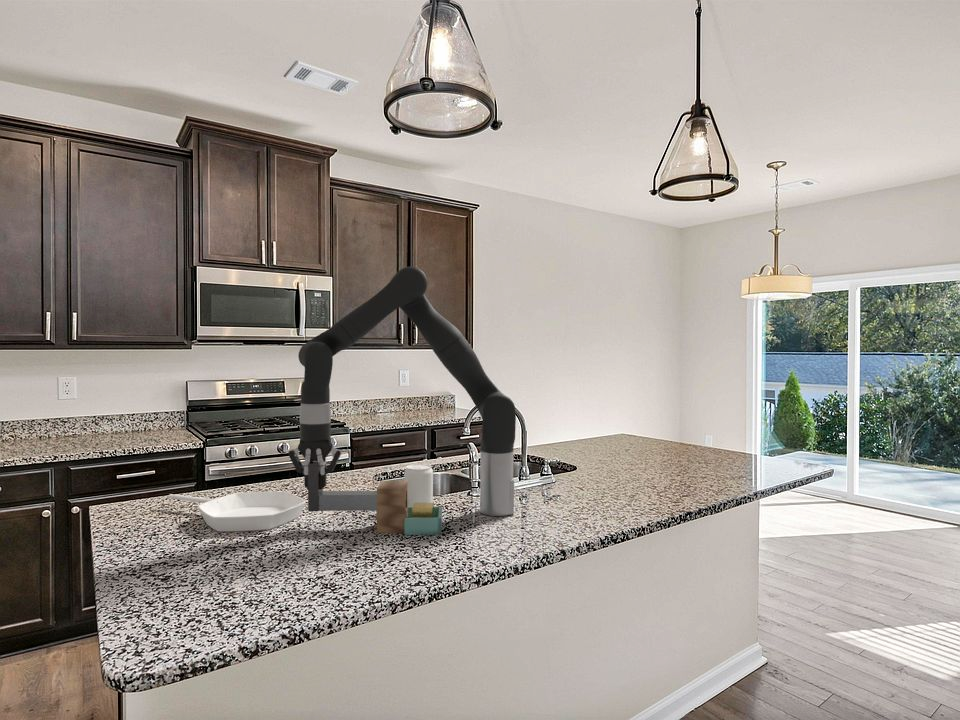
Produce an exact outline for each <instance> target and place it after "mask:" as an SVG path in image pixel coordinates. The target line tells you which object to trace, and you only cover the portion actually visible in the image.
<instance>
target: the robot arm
mask: <svg viewBox="0 0 960 720" xmlns="http://www.w3.org/2000/svg"><path fill="white" fill-rule="evenodd" d="M428 283H429V282H428V278H427V276H426V274H425V272H424V271H423V270H421V269H420V267H416V266H407V267H403V268H401V269H399V270H398V271H397V272H396V273H394V275H393V276H392V277H391V279H390V280H389V282H388V283H387V284H386V285H385V286H384V287H382V289H380V290H379V291H378V292H377V293H375V295H374V296H372V297H371V298H369V299H368V300H366V301H365V302H364V303H362V304H361V305H359V306H358V307H357V308H355V309H353V310H352V311H350V312H349V313H348V314H346V315H345V316H343V317H342V318H341V319H340V320H338V321H337V322H335V323H334V324H333V325H332V326H330V327H329V328H328V329H327V330H325V331H323V332H322V333H320V334H318V335H316V336H315V337H312V339H310V340H308V341H307V342H305V343H304V344H303V345H302V347H300V349H299V351H298V356H297V357H298V360H299V363H300V365H302V366H303V367H304V377H303V378H304V379H303V381H302V382H301V386H300V409H299V443H298V445H297V447H296V448H293V449H290V450H289V451H288V452H287V455H288V457H289V458H290V461H291V463H292V465H293V467H294V469H295V470H296V472H297V473H298V474H303V476H304V479H303V480H304V482H303V484H304V488H306V490H307V491H308V463H310V462H311V461H318V463H319V469H320V474H321V475H320V490H323V491H324V489H325V488H326V486H327V483H328V482H327V481H328V480H327V476H328V474H329V473H332V472H333V471H334V470H335V467H336V466H337V464H338V462H339V459H340V458H341V456H342V453H343V450H342V449H341V448H339V449H338V448H336V447H334V446H333V443H332V441H331V440H332V439H331V438H332V435H331V433H332V432H331V429H332V428H331V427H332V425H331V423H332V422H331V421H332V420H331V419H332V418H331V417H332V416H331V415H332V413H331V406H330V405H331V403H330V402H331V401H330V399H331V397H330V393H331V392H330V391H331V390H330V389H331V388H330V384H331V378H332V373H333V372H332V371H333V364H334V363H333V362H334V360H333V357H334V356H335V355H337V354H338V353H340V352H341V351H345V350H347V349H349V348H350V347H352V346H353V345H355V344H356V343H357V342H359V341H360V340H361V339H362V338H364V337H365V336H366V335H367V334H369V333H370V332H371V331H372V330H373V329H374V328H375V327H377V326H378V324H380V323H381V322H382V321H383V320H384V319H386V318H387V317H388V316H389V315H391V313H393V312H395V311H396V310H397V309H401V310H402V312H403V313H405V315H406V316H407V317H408V318H409V319H410V321H412V323H413V324H414V325H415V327H416V329H418V331H419V332H420V334H421V336H422V337H423V339H424V340H425V342H427V344H428V346H429V347H430V348H431V350H432V351H433V352H434V354H435V355H436V357H437V358H438V360H440V362H441V363H442V365H443V366H444V367H445V369H446V370H447V372H449V373H450V375H451V377H453V378H454V379H455V380H456V381H457V382H458V383H459V384H460V385H461V386H462V388H463V389H464V390H465V391H466V392H467V394H468V395H469V397H470V399H471V400H472V402H473V404H474V406H475V407H476V409H477V410H478V413H479V415H480V416H481V418H482V427H481V428H482V429H481V432H482V433H481V440H480V458H479V459H480V465H479V466H480V471H479V472H480V473H479V474H480V476H479V477H480V478H479V479H480V481H479V482H480V483H479V485H480V486H479V487H480V488H479V512H480V513H481V514H483V515H485V516H489V517H490V516H491V517H500V516H501V517H503V516H509V515H514V514H515V480H514V445H515V443H516V442H515V441H516V427H517V426H516V424H517V420H516V419H517V414H516V407H515V403H514V402H513V400H512V399H511V398H510V397H508V396H507V395H505V394H504V393H502V391H500V390H499V388H498V387H497V386H496V385H495V384H494V382H493V381H492V380H491V379H490V377H488V375H487V373H486V372H485V370H484V368H483V366H482V364H481V362H480V360H479V357H478V356H477V354H476V353H475V350H474V349H473V347H472V346H471V344H470V343H469V342H468V341H467V339H466V337H465V336H464V335H463V333H462V332H461V331H460V330H459V329H458V328H457V326H455V325H454V324H453V323H451V322H450V321H449V320H448V319H446V318H445V317H444V316H443V315H441V314H440V313H439V312H438V311H437V310H436V309H435V308H434V307H433V305H432V303H430V301H429V300H428V299H427V297H426V295H425V294H426V292H427V289H428ZM330 453H331V457H332V460H331V462H330V463H329V464H328V466H327V457H328V455H329V454H330ZM300 454H301V456H303V459H304V462H303V463H304V465H303V463H302V461H301V459H300V458H299V456H300Z"/></svg>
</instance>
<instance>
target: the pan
mask: <svg viewBox="0 0 960 720" xmlns="http://www.w3.org/2000/svg"><path fill="white" fill-rule="evenodd" d="M167 498H168V499H170V500H171V499H172V500H179V501H185V502H194V503H195V502H196V503H200V504H198V505H197V509H198V511H199V512H200V514H201V516H202V518H203V520H204V522H205V524H206V525H208V527H210V529H212V530H213V531H216V532H218V533H239V532H240V533H241V532H245V533H246V532H260V531H261V532H263V531H271V530H272V529H277V528H278V527H281V526H283V525H285V524H288V523H290V522H293V521H295V520H296V519H297V518H299V517H300V516H301V513H302V511H303V508H304V506H305V505H306V502H307V501H306V500H304V499H303V498H302V497H300V496H298V495H296V494H293V493H291V492H288V491H284V490H283V491H282V490H281V491H277V490H275V491H252V492H251V491H249V492H248V491H246V492H235V493H231V494H227V495H225V496H220V497H217V498H206V497H197V496H190V495H182V494H172V493H170V494H168V495H167Z"/></svg>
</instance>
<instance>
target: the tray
mask: <svg viewBox="0 0 960 720" xmlns="http://www.w3.org/2000/svg"><path fill="white" fill-rule="evenodd" d="M412 507H413V506H408V518H405V532H404V533H403V534H404V535H405V536H407V535H411V536H414V535H415V536H416V535H418V536H419V535H421V536H422V535H423V536H425V535H433V536H435V535H442V530H443V529H442V526H443V506H442V505H441V506H440V505H439V506H438V505H437V506H435V505H434V518H412Z"/></svg>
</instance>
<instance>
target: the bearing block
mask: <svg viewBox="0 0 960 720" xmlns="http://www.w3.org/2000/svg"><path fill="white" fill-rule="evenodd" d="M376 491H377V511H376V534H399V533H400V534H404V532H405V518H408V481H404V480H402V481H401V480H400V481H399V480H398V481H394V480H393V481H392V480H391V481H389V480H387V481H379V484H378V486H377V488H376Z"/></svg>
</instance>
